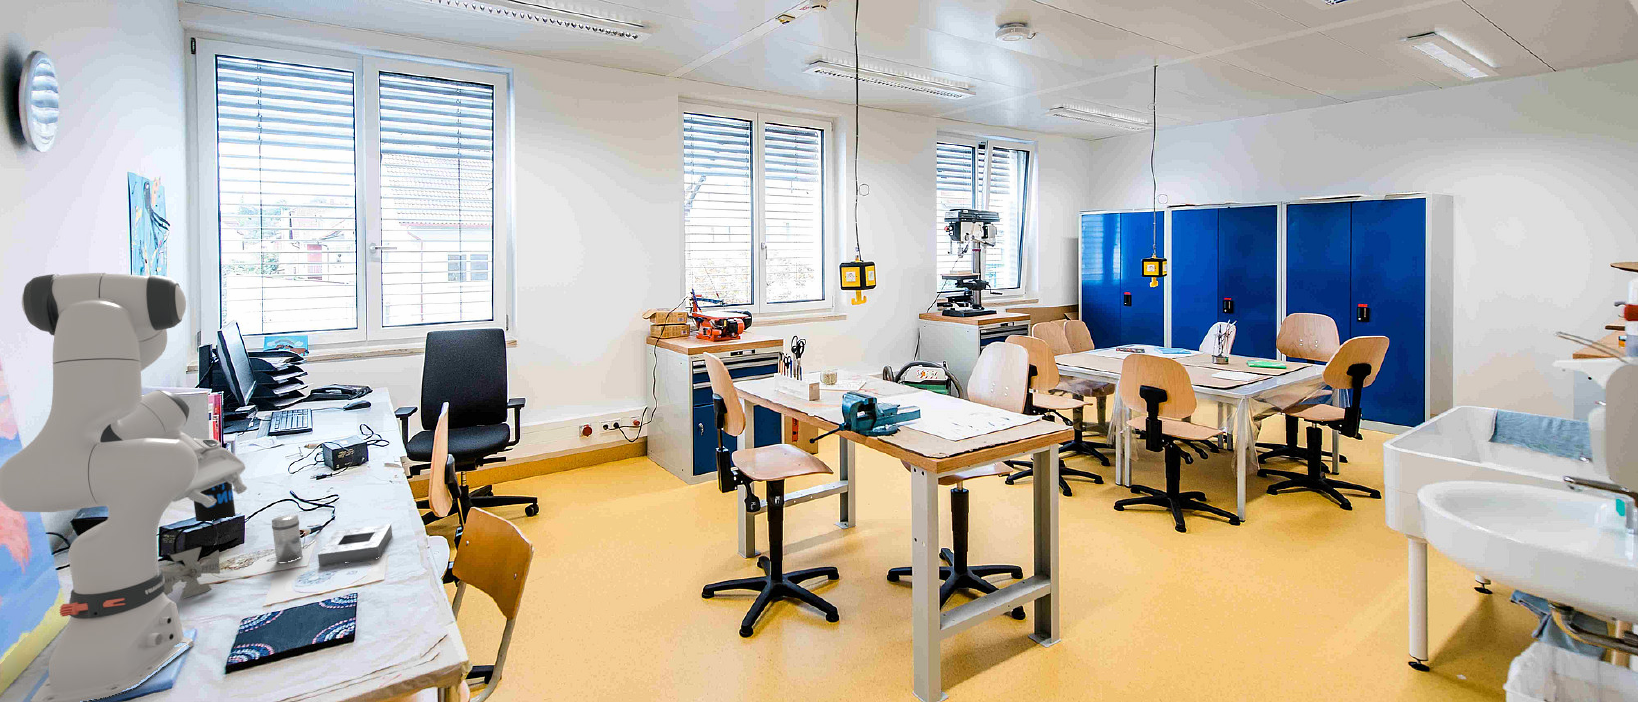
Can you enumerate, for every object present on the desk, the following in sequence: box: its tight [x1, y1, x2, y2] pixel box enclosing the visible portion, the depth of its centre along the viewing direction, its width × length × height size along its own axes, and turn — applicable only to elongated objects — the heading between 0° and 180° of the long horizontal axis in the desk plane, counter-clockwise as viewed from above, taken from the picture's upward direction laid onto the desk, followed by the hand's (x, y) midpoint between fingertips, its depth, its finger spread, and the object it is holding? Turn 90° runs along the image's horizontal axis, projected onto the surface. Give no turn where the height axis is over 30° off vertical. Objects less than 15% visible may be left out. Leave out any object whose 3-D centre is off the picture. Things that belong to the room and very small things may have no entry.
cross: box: [162, 546, 221, 600], centre depth 156 cm, size 10×3×10 cm, turn 152°
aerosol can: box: [193, 481, 236, 522], centre depth 187 cm, size 8×8×20 cm
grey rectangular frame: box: [317, 523, 393, 567], centre depth 180 cm, size 16×12×3 cm
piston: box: [271, 514, 303, 563], centre depth 175 cm, size 5×5×10 cm
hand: (228, 497), depth 173 cm, fingers open, 8 cm apart
